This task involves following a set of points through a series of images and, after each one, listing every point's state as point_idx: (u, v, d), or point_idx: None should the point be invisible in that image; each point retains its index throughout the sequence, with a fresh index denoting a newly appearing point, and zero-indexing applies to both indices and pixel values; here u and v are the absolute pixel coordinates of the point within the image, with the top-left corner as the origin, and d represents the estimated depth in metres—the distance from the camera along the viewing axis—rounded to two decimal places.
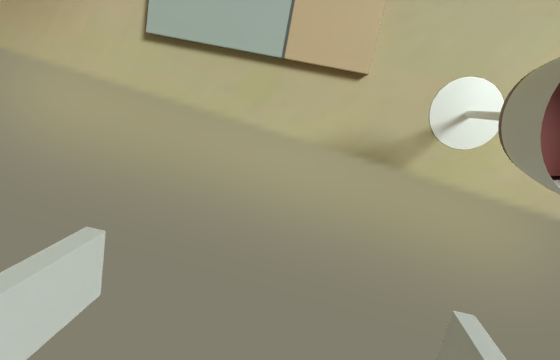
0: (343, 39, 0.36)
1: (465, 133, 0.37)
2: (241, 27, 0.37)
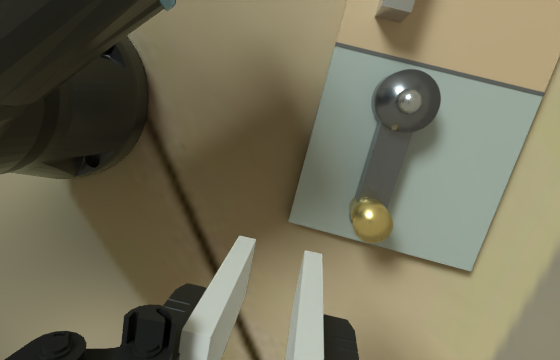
0: (536, 5, 0.25)
1: None
2: (490, 149, 0.28)
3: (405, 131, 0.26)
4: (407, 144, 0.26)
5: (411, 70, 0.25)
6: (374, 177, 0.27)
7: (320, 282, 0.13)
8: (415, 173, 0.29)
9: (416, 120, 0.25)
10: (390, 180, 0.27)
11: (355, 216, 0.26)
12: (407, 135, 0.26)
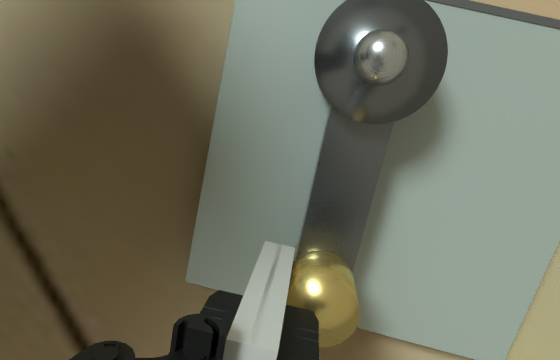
0: None
1: None
2: (541, 153, 0.15)
3: (377, 121, 0.12)
4: (384, 147, 0.13)
5: None
6: (325, 213, 0.14)
7: (288, 274, 0.13)
8: (401, 198, 0.16)
9: (398, 97, 0.12)
10: (355, 217, 0.14)
11: None
12: (383, 129, 0.13)
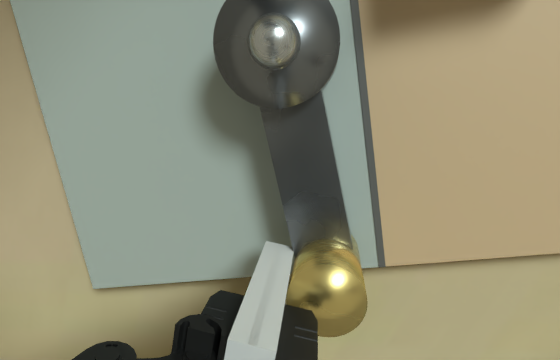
0: (515, 193, 0.15)
1: None
2: (272, 232, 0.17)
3: (301, 99, 0.12)
4: (324, 119, 0.13)
5: None
6: (301, 204, 0.14)
7: (287, 274, 0.13)
8: (185, 140, 0.16)
9: (309, 69, 0.12)
10: (330, 196, 0.14)
11: None
12: (315, 104, 0.13)
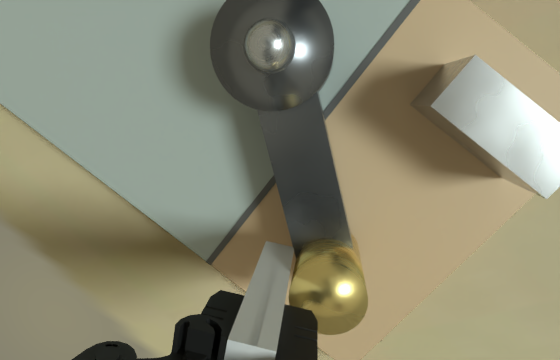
0: None
1: None
2: (153, 170, 0.17)
3: (297, 102, 0.13)
4: (321, 121, 0.13)
5: None
6: (300, 204, 0.14)
7: (287, 274, 0.13)
8: (149, 40, 0.16)
9: (304, 72, 0.12)
10: (329, 196, 0.14)
11: None
12: (311, 106, 0.13)
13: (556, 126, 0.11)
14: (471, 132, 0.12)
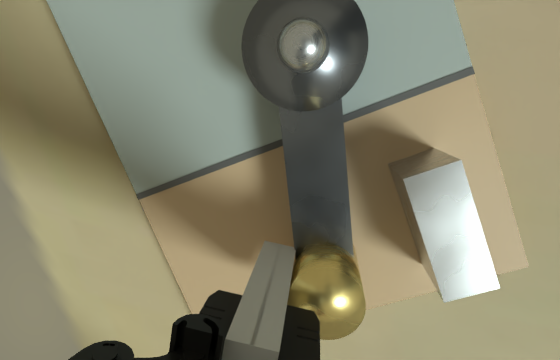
0: (233, 282, 0.18)
1: None
2: (133, 85, 0.16)
3: (322, 105, 0.13)
4: (341, 127, 0.13)
5: None
6: (308, 207, 0.14)
7: (289, 274, 0.13)
8: None
9: (334, 76, 0.12)
10: (337, 202, 0.14)
11: None
12: (334, 110, 0.13)
13: (484, 251, 0.13)
14: (421, 219, 0.13)
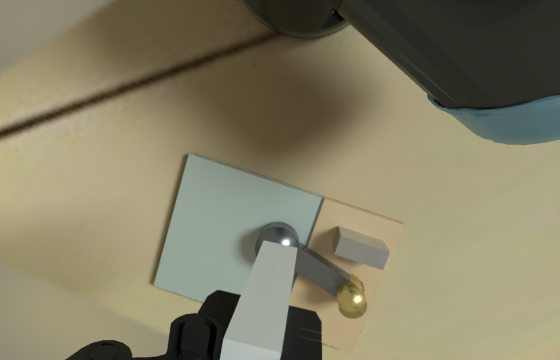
0: (332, 322, 0.40)
1: None
2: None
3: (296, 257, 0.36)
4: (307, 254, 0.36)
5: (256, 242, 0.36)
6: (323, 281, 0.37)
7: (291, 274, 0.13)
8: (226, 249, 0.39)
9: None
10: (329, 272, 0.37)
11: None
12: (300, 252, 0.36)
13: (374, 248, 0.34)
14: (350, 258, 0.35)
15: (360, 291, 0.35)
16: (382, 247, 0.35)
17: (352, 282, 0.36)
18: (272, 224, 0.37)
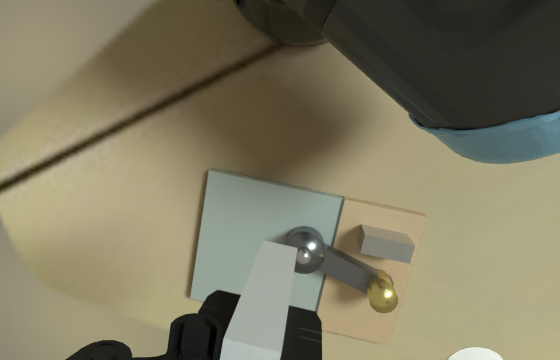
0: (366, 317, 0.41)
1: None
2: None
3: (323, 259, 0.37)
4: (333, 255, 0.37)
5: None
6: (352, 279, 0.38)
7: (291, 274, 0.13)
8: (255, 257, 0.41)
9: (317, 251, 0.37)
10: (357, 270, 0.38)
11: (374, 309, 0.36)
12: (327, 254, 0.37)
13: (399, 243, 0.35)
14: (376, 255, 0.36)
15: (389, 286, 0.36)
16: (407, 241, 0.36)
17: (381, 277, 0.37)
18: (296, 229, 0.38)
